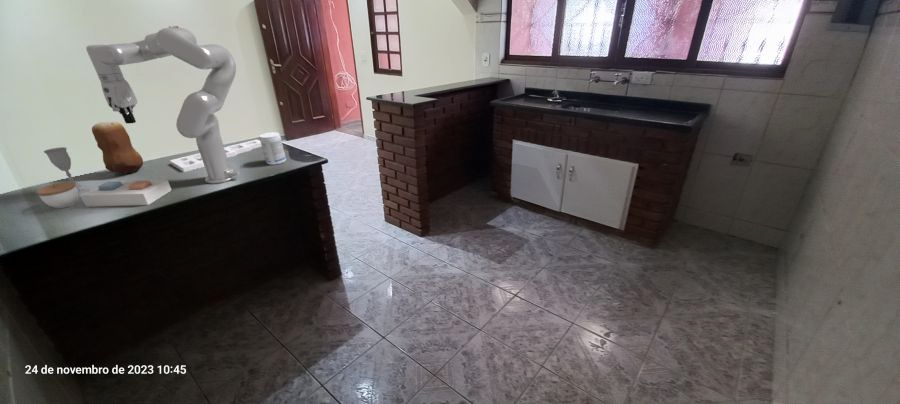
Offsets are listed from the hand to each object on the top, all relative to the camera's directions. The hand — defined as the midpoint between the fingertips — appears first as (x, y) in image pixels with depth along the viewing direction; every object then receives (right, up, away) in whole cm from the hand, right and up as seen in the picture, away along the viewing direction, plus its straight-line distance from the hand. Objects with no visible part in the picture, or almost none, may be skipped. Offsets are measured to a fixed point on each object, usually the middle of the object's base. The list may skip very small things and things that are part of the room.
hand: (131, 122), depth 151 cm
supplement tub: (+46, -13, +33) cm, 58 cm away
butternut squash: (-20, -20, +21) cm, 35 cm away
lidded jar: (-18, -35, -9) cm, 41 cm away
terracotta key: (+10, -29, -6) cm, 31 cm away
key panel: (+4, -32, -4) cm, 33 cm away
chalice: (-28, -28, +5) cm, 40 cm away
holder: (+13, -9, +42) cm, 45 cm away
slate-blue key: (-2, -29, -6) cm, 30 cm away
